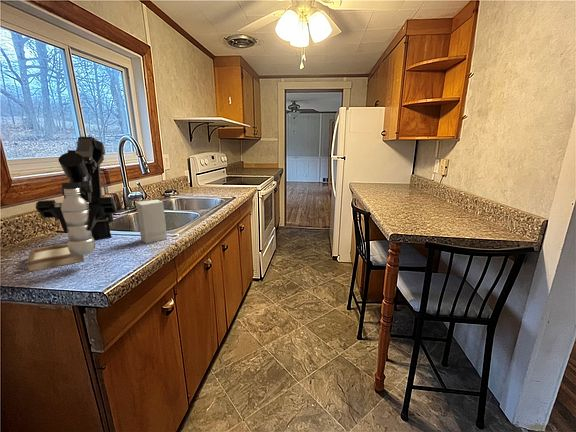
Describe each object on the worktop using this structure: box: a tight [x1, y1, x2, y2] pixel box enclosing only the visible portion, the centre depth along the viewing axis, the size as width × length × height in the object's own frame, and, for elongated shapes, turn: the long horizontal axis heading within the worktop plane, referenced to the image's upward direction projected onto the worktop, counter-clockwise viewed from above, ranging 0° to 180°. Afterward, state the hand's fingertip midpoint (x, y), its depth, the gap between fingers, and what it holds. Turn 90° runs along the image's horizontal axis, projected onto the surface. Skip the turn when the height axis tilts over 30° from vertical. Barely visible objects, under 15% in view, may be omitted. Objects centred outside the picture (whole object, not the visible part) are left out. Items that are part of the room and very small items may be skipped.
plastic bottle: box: [60, 188, 96, 256], centre depth 79 cm, size 6×7×20 cm
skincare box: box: [135, 199, 168, 244], centre depth 106 cm, size 8×7×16 cm
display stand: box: [26, 242, 85, 272], centre depth 88 cm, size 13×13×3 cm
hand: (77, 231), depth 79 cm, fingers closed on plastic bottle, 5 cm apart
